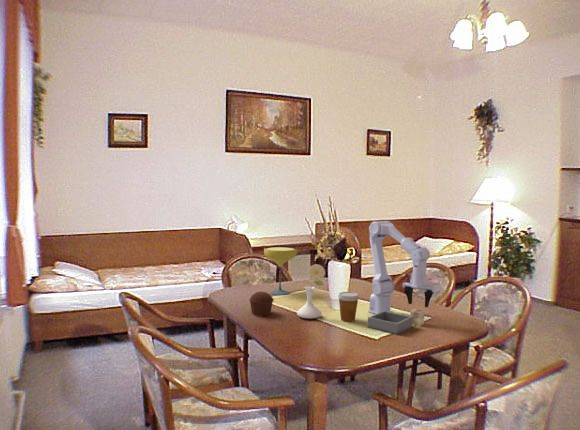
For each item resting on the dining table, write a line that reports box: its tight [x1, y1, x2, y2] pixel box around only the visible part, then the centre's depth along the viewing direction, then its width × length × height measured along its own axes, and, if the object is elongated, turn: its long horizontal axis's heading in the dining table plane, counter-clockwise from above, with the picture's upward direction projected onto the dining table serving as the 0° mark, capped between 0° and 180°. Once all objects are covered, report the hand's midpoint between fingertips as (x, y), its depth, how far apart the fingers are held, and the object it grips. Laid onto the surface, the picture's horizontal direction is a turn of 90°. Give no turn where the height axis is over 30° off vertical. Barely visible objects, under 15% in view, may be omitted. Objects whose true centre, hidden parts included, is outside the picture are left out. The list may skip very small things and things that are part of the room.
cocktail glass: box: [263, 245, 298, 296], centre depth 266 cm, size 18×18×25 cm
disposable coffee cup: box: [337, 291, 360, 323], centre depth 218 cm, size 10×10×12 cm
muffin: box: [249, 291, 274, 317], centre depth 227 cm, size 12×11×10 cm
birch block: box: [409, 308, 425, 327], centre depth 214 cm, size 4×4×6 cm
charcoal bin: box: [367, 311, 413, 336], centre depth 208 cm, size 14×14×4 cm
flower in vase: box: [296, 263, 326, 319], centre depth 221 cm, size 13×11×25 cm
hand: (418, 305), depth 213 cm, fingers open, 7 cm apart
